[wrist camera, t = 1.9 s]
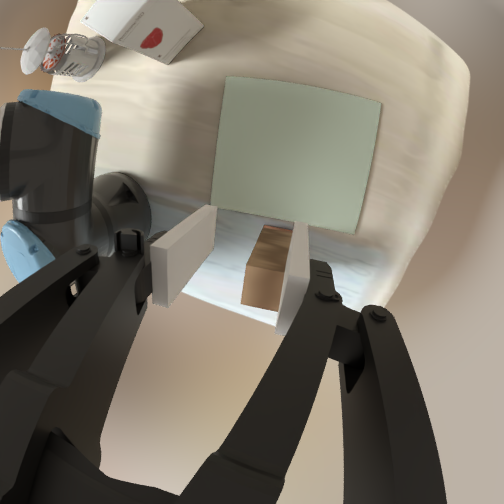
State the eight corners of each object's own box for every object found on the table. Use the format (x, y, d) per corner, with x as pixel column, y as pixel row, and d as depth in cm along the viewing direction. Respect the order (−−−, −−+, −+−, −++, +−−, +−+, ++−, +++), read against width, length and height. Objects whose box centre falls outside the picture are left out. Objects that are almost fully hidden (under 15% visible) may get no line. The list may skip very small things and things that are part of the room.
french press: (72, 45, 33) (-26, 34, 10) (116, 27, 31) (10, -5, 9) (68, 87, 37) (-37, 91, 14) (111, 72, 35) (-7, 59, 13)
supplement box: (167, 67, 34) (110, 45, 21) (135, 43, 33) (77, 22, 19) (206, 25, 31) (163, -15, 17) (170, 4, 29) (122, -31, 16)
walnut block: (259, 254, 44) (240, 303, 31) (264, 224, 42) (246, 265, 29) (290, 261, 43) (284, 313, 31) (296, 231, 41) (293, 274, 29)
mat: (211, 205, 42) (209, 206, 41) (227, 76, 34) (226, 76, 33) (353, 233, 40) (354, 234, 39) (380, 103, 31) (381, 103, 31)
